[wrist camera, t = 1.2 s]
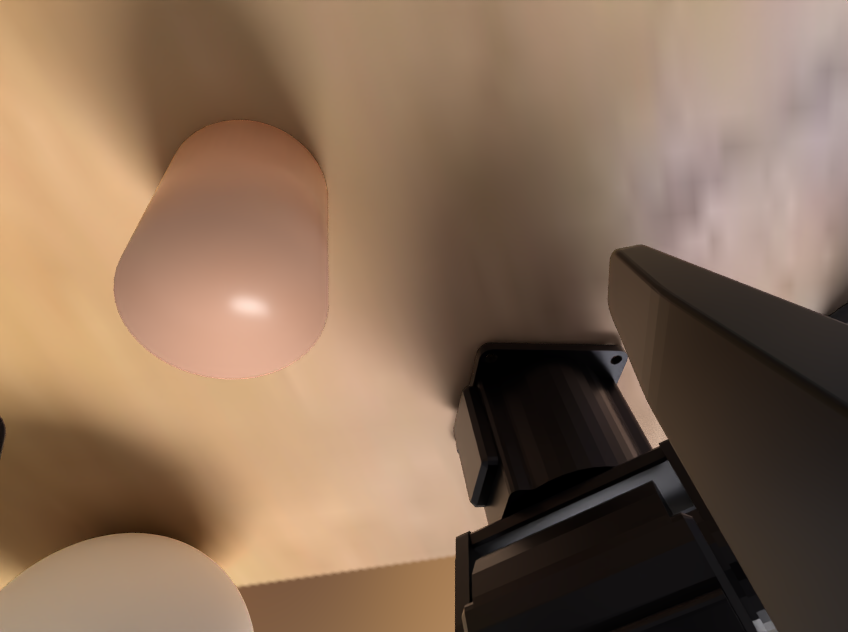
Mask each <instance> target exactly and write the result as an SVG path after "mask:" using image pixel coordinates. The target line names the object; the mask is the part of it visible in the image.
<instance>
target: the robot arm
mask: <svg viewBox="0 0 848 632" xmlns="http://www.w3.org/2000/svg"><path fill="white" fill-rule="evenodd" d="M608 305H609V310H610V313H611V316H612V319H613V321H614V323H615V326H616V328H617V331H618V333H619V335H620V338H621V340H622V343H623V345H624V347H625V350H626V352H627V353H626V352H625V350H624V349H623V347H621V346H619V345H593V344H531V343H487V344H484V345H482V346H481V347H480V348H479V350H478V352H477V355H476V359H475V364H474V368H473V372H472V376H471V381H470V385H469V386H466V387H465V389H464V390H463V391H462V394H461V399H460V403H459V407H458V412H457V416H456V420H455V425H454V434H455V439H456V447H457V452H458V453H459V456H460V461H461V465H462V469H463V474H464V478H465V483H466V487H467V491H468V496H469V500H470V502H471V503H472V504H473V505H474V506H475V507H484V509H485V513H486V517H487V521H488V525H487V526H485V527H483V528H481V529H479V530H477V531H474V532H472V533H471V532H470V531H469V532H466V533H464V534H462V535H460V536H458V537H456V559H455V632H848V324H846V323H843V322H841V321H838V320H836V319H833V318H830V317H828V316H825V315H823V314H820V313H818V312H815V311H812V310H810V309H807V308H805V307H802V306H800V305H797V304H794V303H792V302H789V301H787V300H784V299H782V298H779V297H776V296H774V295H771V294H769V293H766V292H764V291H761V290H758V289H756V288H753V287H751V286H748V285H746V284H743V283H740V282H738V281H735V280H733V279H730V278H728V277H725V276H722V275H720V274H717V273H715V272H712V271H710V270H707V269H704V268H702V267H699V266H697V265H694V264H692V263H689V262H686V261H684V260H681V259H679V258H676V257H674V256H671V255H668V254H666V253H663V252H661V251H658V250H656V249H653V248H650V247H648V246H645V245H634V246H629V247H625V248H620V249H616V250H614V251H613V252H612V254H611V257H610V264H609V284H608ZM489 354H494V355H492V356H491V357H486V356H487V355H489ZM627 355H628V356H627ZM614 356H616V357H614ZM613 357H614V358H613ZM628 357H629V359H630V362H631V364H632V367H633V369H634V372H635V374H636V376H637V379H638V381H639V384H640V386H641V388H642V391H643V393H644V395H645V397H646V400H647V402H648V404H649V405H650V407H651V409H652V411H653V413H654V415H655V417H656V418H657V420H658V422H659V424H660V425H661V427H662V429H663V431H664V432H665V434H666V436H667V438H668V439H667V440H665V441H663V442H661V443H659V445H660V446H659V447H656V448H654V449H653V448H652V447H651V445H650V443H649V441H648V440H647V438H646V436H645V434H644V432H643V431H642V429H641V427H640V425H639V424H638V422H637V420H636V418H635V416H634V415H633V413H632V411H631V409H630V408H629V406H628V404H627V402H626V400H625V399H624V397H623V395H622V393H621V392H620V390H619V388H618V386H617V382H618V380H619V378H620V375H621V373H622V371H623V369H624V366H625V364H626V362H627V358H628ZM5 436H6V428H5V424H4V421H3V419H2V418H1V416H0V458H1V454H2V450H3V445H4V441H5Z"/></svg>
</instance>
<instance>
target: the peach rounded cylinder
mask: <svg viewBox="0 0 848 632" xmlns="http://www.w3.org/2000/svg"><path fill="white" fill-rule="evenodd" d="M114 296H115V302H116V306H117V309H118V312H119V314H120V316H121V318H122V320H123V323H124V324H125V326H126V327H127V329H128V330H129V332H130V333H131V334H132V335H133V337H134V338H135V339H136V340H137V341H138V342H139V343H140V344H141V345H142V346H143V347H144V348H145V349H147V350H148V351H149V352H150V353H152V354H153V355H155V356H156V357H157V358H159V359H161V360H162V361H164V362H166V363H168V364H169V365H172V366H174V367H176V368H178V369H181V370H183V371H186V372H189V373H192V374H196V375H200V376H204V377H210V378H217V379H247V378H254V377H259V376H263V375H267V374H271V373H273V372H276V371H279V370H281V369H283V368H285V367H287V366H289V365H291V364H292V363H294V362H296V361H297V360H299V359H300V358H301V357H302V356H304V355H305V354H306V353H307V352H308V351H309V350H310V349H311V348H312V347H313V346H314V344H315V343H316V341H317V340H318V339H319V337H320V335H321V333H322V331H323V329H324V327H325V324H326V320H327V316H328V308H329V285H328V192H327V186H326V182H325V179H324V176H323V173H322V171H321V169H320V167H319V165H318V163H317V162H316V160H315V159H314V157H313V156H312V154H311V153H310V152H309V151H308V150H307V149H306V148H305V147H304V146H303V145H302V144H301V143H300V142H299V141H298V140H296V139H295V138H294V137H292V136H291V135H289V134H288V133H286V132H284V131H282V130H280V129H278V128H276V127H273V126H271V125H269V124H265V123H261V122H257V121H250V120H227V121H221V122H217V123H213V124H211V125H208V126H206V127H203V128H202V129H200V130H198V131H197V132H195V133H193V134H192V135H191V136H190V137H189V138H187V139H186V140H185V141H184V142H183V144H182V145H181V146H180V147H179V149H178V150H177V152H176V153H175V155H174V157H173V159H172V161H171V163H170V164H169V166H168V168H167V170H166V172H165V174H164V176H163V178H162V180H161V182H160V184H159V185H158V187H157V189H156V191H155V193H154V195H153V197H152V199H151V201H150V203H149V205H148V206H147V208H146V210H145V212H144V214H143V216H142V218H141V220H140V222H139V224H138V226H137V227H136V229H135V231H134V233H133V235H132V237H131V239H130V241H129V243H128V245H127V247H126V248H125V250H124V252H123V254H122V256H121V258H120V261H119V263H118V265H117V268H116V273H115V277H114Z"/></svg>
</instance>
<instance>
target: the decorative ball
mask: <svg viewBox="0 0 848 632" xmlns="http://www.w3.org/2000/svg"><path fill="white" fill-rule="evenodd" d="M0 632H254V631H253V627H252V622H251V619H250V616H249V612H248V610H247V607H246V605H245V602H244V600H243V598H242V596H241V594H240V592H239V591H238V589H237V587H236V586H235V584H234V583H233V581H232V580H231V578H230V577H229V576H228V575H227V573H226V572H225V571H224V570H223V569H222V568H221V567H220V566H219V565H218V564H217V563H216V562H215V561H213V560H212V559H211V558H210V557H208V556H207V555H206V554H204V553H203V552H201V551H200V550H198V549H196V548H194V547H192V546H190V545H188V544H186V543H184V542H181V541H179V540H176V539H172V538H169V537H165V536H160V535H155V534H146V533H121V534H112V535H105V536H100V537H96V538H92V539H88V540H85V541H82V542H79V543H76V544H73V545H71V546H68V547H66V548H63V549H61V550H59V551H57V552H55V553H53V554H51V555H49V556H47V557H45V558H43V559H42V560H40V561H38V562H37V563H35V564H34V565H32V566H30V567H29V568H27V569H26V570H25V571H23V572H22V573H20V574H19V575H18V576H16V577H15V578H14V579H13V580H11V581H10V582H9V583H8V584H7V585H6V586H4V587H3V588H2V589H1V590H0Z"/></svg>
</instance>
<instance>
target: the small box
mask: <svg viewBox="0 0 848 632" xmlns="http://www.w3.org/2000/svg"><path fill="white" fill-rule="evenodd" d="M829 317H830V318H833V319H836V320H838V321H841V322H843V323H846V324H848V303H847V304H846V305H844V306H843V307H841V308H840V309H839V310H837V311H836V312H834V313H833V314H832V315H830V316H829Z"/></svg>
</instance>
